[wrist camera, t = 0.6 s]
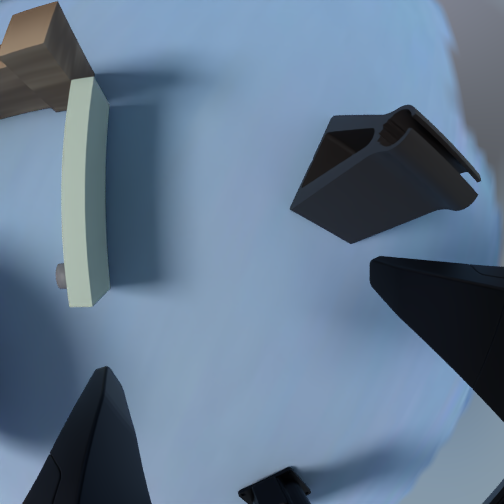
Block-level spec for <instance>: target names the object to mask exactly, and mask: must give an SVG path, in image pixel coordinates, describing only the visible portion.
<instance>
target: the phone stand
mask: <svg viewBox="0 0 504 504" xmlns="http://www.w3.org/2000/svg"><path fill="white" fill-rule="evenodd" d="M463 172H469V173H470V175H471V176H472V177H473V178H474V179H475V180H476V182H480V181H481V178H480V175H479V173H478V172H477V171H476V170H475V169H474V167H473V166H472V165H471V164H470V163H469V162H468V161H467V160H466V158H465V157H464V156H463V155H462V154H461V153H460V152H459V151H458V150H457V149H456V147H455V146H454V145H453V144H452V143H451V142H450V141H449V140H448V139H447V138H446V137H445V136H444V135H443V134H442V133H441V132H440V131H439V130H438V129H437V128H436V127H435V126H434V125H433V124H432V123H431V122H430V121H429V120H427V119H426V118H425V117H424V116H423V115H422V114H421V113H420V112H419V111H418V110H417V109H415V108H414V107H413V106H412V105H404V106H402V107H400V108H398V109H397V110H395V111H393V112H391V113H388V114H385V115H339V116H333V117H332V118H331V120H330V122H329V124H328V126H327V129H326V131H325V133H324V135H323V137H322V140H321V142H320V144H319V146H318V148H317V150H316V153H315V155H314V157H313V161H312V162H311V164H310V166H309V168H308V170H307V172H306V174H305V176H304V179H303V181H302V183H301V185H300V187H299V189H298V192H297V194H296V196H295V198H294V200H293V202H292V204H291V207H290V210H292V211H293V212H295V213H297V214H299V215H301V216H302V217H304V218H306V219H308V220H310V221H311V222H313V223H315V224H317V225H319V226H320V227H322V228H324V229H326V230H327V231H329V232H331V233H333V234H334V235H336V236H338V237H340V238H341V239H343V240H345V241H346V242H348V243H350V244H352V243H355V242H357V241H360V240H362V239H365V238H368V237H370V236H373V235H375V234H378V233H380V232H383V231H386V230H388V229H391V228H393V227H396V226H398V225H401V224H403V223H406V222H408V221H411V220H413V219H416V218H418V217H421V216H423V215H426V214H428V213H431V212H433V211H436V210H440V209H449V210H454V211H458V210H462V209H465V208H466V207H468V206H469V205H471V204H472V203H473V202H474V200H475V199H476V198H477V196H478V194H477V193H476V192H475V191H474V189H473V188H472V187H471V186H470V185H469V184H468V183H467V182H466V180H465V179H464V178H463V177H462V176H461V175H460V174H461V173H463Z"/></svg>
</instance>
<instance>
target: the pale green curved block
mask: <svg viewBox="0 0 504 504" xmlns="http://www.w3.org/2000/svg"><path fill="white" fill-rule="evenodd" d="M109 105H110V104H109V103H108V101H107V99H106V97H105V96H104V94H103V92H102V90H101V88H100V87H99V85H98V83H97V81H96V79H95V78H94V76H93V77H87V78H80V79H74V80H71V86H70V92H69V99H68V106H67V113H66V122H65V131H64V143H63V157H62V182H61V215H62V240H63V254H64V263H61V264H58V265H57V268H56V281H57V285H58V287H59V288H60V289H67V293H68V300H69V307H93V306H94V305H95V304H96V303H97V302H98V301H99V300H100V299H101V298H102V296H103V295H104V294H105V293H106V292H107V291H108V290H109V289H110V278H109V267H108V254H107V237H106V209H105V173H106V145H107V129H108V116H109Z"/></svg>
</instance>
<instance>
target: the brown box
mask: <svg viewBox="0 0 504 504" xmlns="http://www.w3.org/2000/svg"><path fill="white" fill-rule="evenodd" d="M93 76H94V72H93V70H92V68H91V66H90V64H89V63H88V61H87V59H86V57H85V55H84V53H83V51H82V49H81V47H80V45H79V43H78V41H77V39H76V37H75V35H74V33H73V31H72V29H71V27H70V25H69V23H68V21H67V19H66V17H65V15H64V13H63V11H62V9H61V7H60V5H59V3H58V1H57V2H53V3H49V4H46V5H42V6H39V7H36V8H32V9H29V10H26V11H23V12H20V13H17V14H15V15H13V16H12V18H11V21H10V23H9V26H8V28H7V31H6V34H5V36H4V39H3V42H2V44H1V45H0V119H3V118H7V117H11V116H15V115H19V114H23V113H27V112H32V111H36V110H41V109H46V108H52V109H53V110H54V111H55V112H60V111H66V110H67V106H68V99H69V92H70V86H71V80H74V79H80V78H87V77H93Z"/></svg>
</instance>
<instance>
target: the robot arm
mask: <svg viewBox="0 0 504 504" xmlns="http://www.w3.org/2000/svg"><path fill="white" fill-rule="evenodd" d="M370 284H371V286H372V287H373V289H374V290H375V291H376V292H377V293H378V294H379V295H380V296H381V298H382V299H383V300H384V301H385V302H386V303H387V304H388V305H389V307H390V308H391V309H392V310H393V311H394V312H395V313H396V314H397V315H398V316H399V317H400V318H401V319H402V320H403V321H404V322H405V323H406V324H407V325H408V326H409V327H410V328H411V329H412V330H413V331H414V332H415V333H417V334H418V335H419V336H420V337H421V338H422V339H423V340H424V341H425V342H426V343H427V344H428V345H429V346H430V347H431V348H432V349H433V350H434V351H435V352H436V353H437V354H438V355H439V356H440V357H441V358H442V359H443V360H444V361H445V362H446V363H447V364H448V365H449V366H450V367H451V368H452V369H453V370H454V371H455V372H456V373H457V374H458V375H459V376H460V377H461V378H462V379H463V380H464V381H465V382H466V383H467V384H468V385H469V386H470V387H471V388H473V390H474V391H475V392H476V393H477V394H478V395H479V396H480V397H481V398H482V399H483V400H484V402H485V403H486V404H487V405H488V406H489V407H490V408H491V409H492V410H493V411H494V412H495V413H496V414H497V415H498V416H499V417H500V419H501V420H502V421H503V422H504V267H497V266H482V265H471V264H470V265H469V264H461V263H450V262H439V261H429V260H418V259H407V258H396V257H385V256H379V257H377V258H375V259H373V260H371V261H370ZM50 454H51V455H50ZM50 454H49V456H48V458H47V460H46V462H45V464H44V466H43V467H42V469H41V471H40V473H39V475H38V477H37V479H36V481H35V482H34V484H33V486H32V488H31V490H30V491H29V493H28V495H27V496H26V498H25V500H24V502H23V503H22V504H152V503H151V500H150V496H149V492H148V488H147V484H146V480H145V476H144V471H143V467H142V462H141V458H140V453H139V448H138V443H137V438H136V433H135V430H134V426H133V423H132V419H131V416H130V412H129V409H128V405H127V401H126V397H125V394H124V390H123V388H122V385H121V384H120V382H119V381H118V379H117V378H116V376H115V375H114V373H113V372H112V370H111V369H110V368H109V367H108V366H105V367H102V368H98V369H96V370H95V371H94V373H93V375H92V377H91V378H90V380H89V382H88V383H87V385H86V387H85V389H84V390H83V392H82V394H81V396H80V397H79V399H78V401H77V403H76V405H75V406H74V408H73V410H72V412H71V414H70V415H69V417H68V419H67V421H66V423H65V425H64V427H63V428H62V430H61V432H60V434H59V436H58V438H57V440H56V442H55V444H54V446H53V448H52V450H51V452H50ZM310 493H311V491H310V489H309V488H308V487H307V486H306V485H305V483H304V482H303V481H302V480H301V479H300V478H299V476H298V475H297V474H296V473H295V472H294V470H293V469H292V468H287V469H285V470H283V471H281V472H279V473H277V474H275V475H273V476H271V477H269V478H267V479H264V480H262V481H260V482H258V483H256V484H254V485H251V486H249V487H247V488H245V489H242V490H240V491H239V492H238V495H239V497H241V498H242V499H243V500H244V501H245V502H247V503H248V504H311V503H310V502H309V500H308V498H307V495H309V494H310ZM483 504H504V479H503V480H502V482H501V483H500V484H499V485H498V486H497V488H496V489H495V490H494V491H493V492H492V493H491V495H490V496H489V497H488V498H487V499H486V500H485V501H484V502H483Z"/></svg>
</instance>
